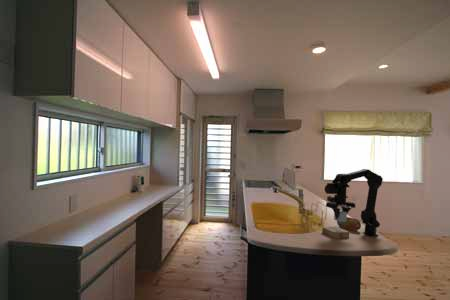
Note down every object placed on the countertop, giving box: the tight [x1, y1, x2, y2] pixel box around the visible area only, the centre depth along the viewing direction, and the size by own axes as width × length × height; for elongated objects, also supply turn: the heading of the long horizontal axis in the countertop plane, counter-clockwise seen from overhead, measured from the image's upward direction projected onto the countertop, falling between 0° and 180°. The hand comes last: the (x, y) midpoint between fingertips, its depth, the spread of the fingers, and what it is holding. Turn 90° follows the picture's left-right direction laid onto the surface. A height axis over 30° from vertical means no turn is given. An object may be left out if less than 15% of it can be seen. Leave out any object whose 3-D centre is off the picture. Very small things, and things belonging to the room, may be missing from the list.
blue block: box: [333, 209, 348, 222], centre depth 149 cm, size 5×5×6 cm
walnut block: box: [321, 225, 350, 240], centre depth 151 cm, size 11×11×4 cm
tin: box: [336, 216, 362, 232], centre depth 164 cm, size 15×3×8 cm, turn 45°
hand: (340, 218), depth 149 cm, fingers closed on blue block, 5 cm apart
